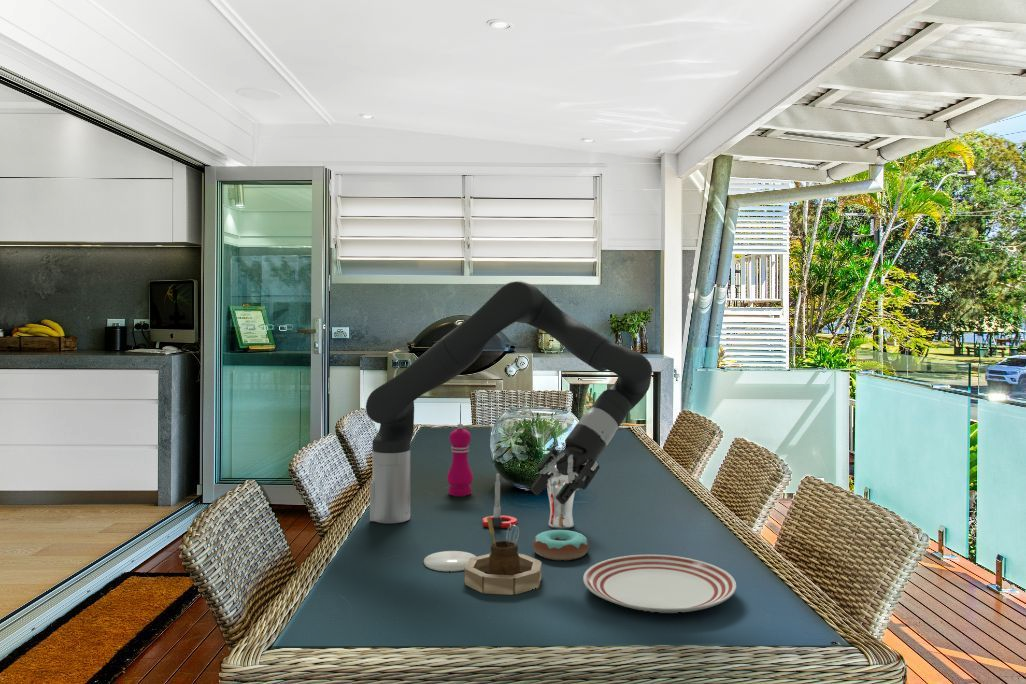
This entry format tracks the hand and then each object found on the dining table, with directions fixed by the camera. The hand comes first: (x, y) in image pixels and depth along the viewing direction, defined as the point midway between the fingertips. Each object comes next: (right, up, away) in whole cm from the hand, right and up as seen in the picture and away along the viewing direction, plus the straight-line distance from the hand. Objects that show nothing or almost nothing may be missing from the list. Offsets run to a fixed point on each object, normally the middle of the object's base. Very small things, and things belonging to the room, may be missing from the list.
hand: (546, 497), depth 150 cm
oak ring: (-8, -15, -5) cm, 18 cm away
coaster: (-19, -15, +5) cm, 25 cm away
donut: (+4, -15, +12) cm, 19 cm away
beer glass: (+5, -14, +33) cm, 36 cm away
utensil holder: (-8, -15, -5) cm, 18 cm away
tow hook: (-10, -14, +34) cm, 38 cm away
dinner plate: (+20, -16, -11) cm, 28 cm away
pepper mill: (-22, -12, +64) cm, 69 cm away
